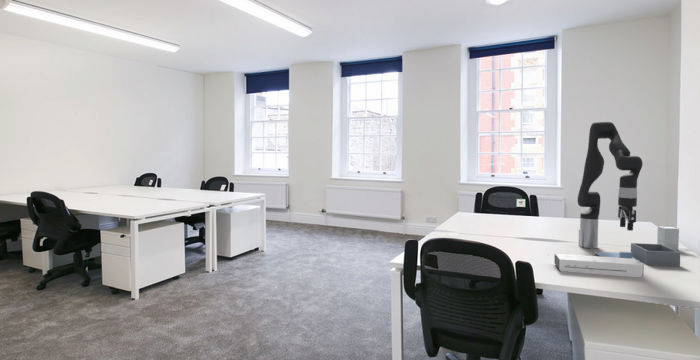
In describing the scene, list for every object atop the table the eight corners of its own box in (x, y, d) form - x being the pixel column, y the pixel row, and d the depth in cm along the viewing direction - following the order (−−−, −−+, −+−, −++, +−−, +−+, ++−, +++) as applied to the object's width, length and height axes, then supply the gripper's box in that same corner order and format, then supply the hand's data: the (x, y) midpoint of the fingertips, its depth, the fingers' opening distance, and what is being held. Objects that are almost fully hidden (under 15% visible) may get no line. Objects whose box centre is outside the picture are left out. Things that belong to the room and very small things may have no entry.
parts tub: (646, 264, 192) (647, 251, 191) (630, 255, 209) (631, 243, 209) (679, 266, 188) (680, 252, 188) (660, 257, 206) (661, 244, 205)
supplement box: (678, 250, 219) (679, 228, 218) (663, 250, 221) (664, 228, 220) (670, 247, 226) (671, 226, 225) (656, 247, 228) (657, 226, 227)
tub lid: (609, 265, 193) (609, 252, 193) (594, 254, 214) (595, 242, 213) (643, 267, 190) (643, 253, 189) (624, 256, 210) (625, 243, 209)
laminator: (558, 271, 184) (558, 259, 183) (553, 264, 195) (554, 252, 195) (643, 278, 173) (643, 264, 172) (632, 270, 184) (633, 257, 184)
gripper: (613, 194, 198) (612, 225, 200) (625, 198, 185) (623, 231, 186) (630, 194, 196) (628, 226, 198) (643, 198, 183) (641, 232, 184)
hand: (626, 228), depth 192 cm, fingers open, 8 cm apart
